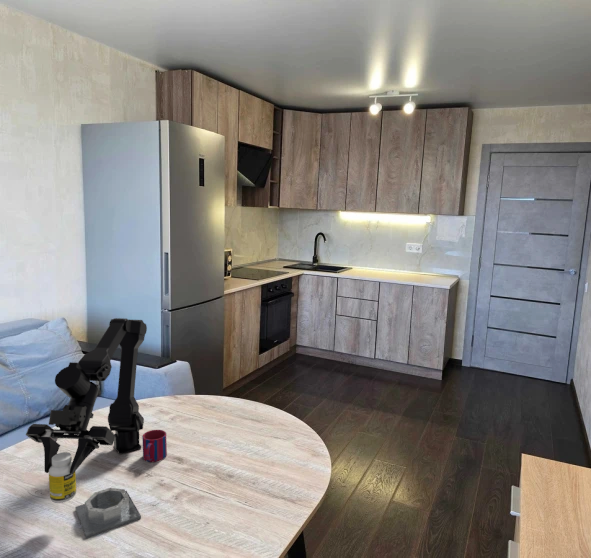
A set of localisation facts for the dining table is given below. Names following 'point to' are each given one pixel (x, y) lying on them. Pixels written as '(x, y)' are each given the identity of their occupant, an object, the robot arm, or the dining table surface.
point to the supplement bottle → (61, 478)
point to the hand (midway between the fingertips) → (58, 473)
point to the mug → (154, 445)
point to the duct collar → (106, 511)
